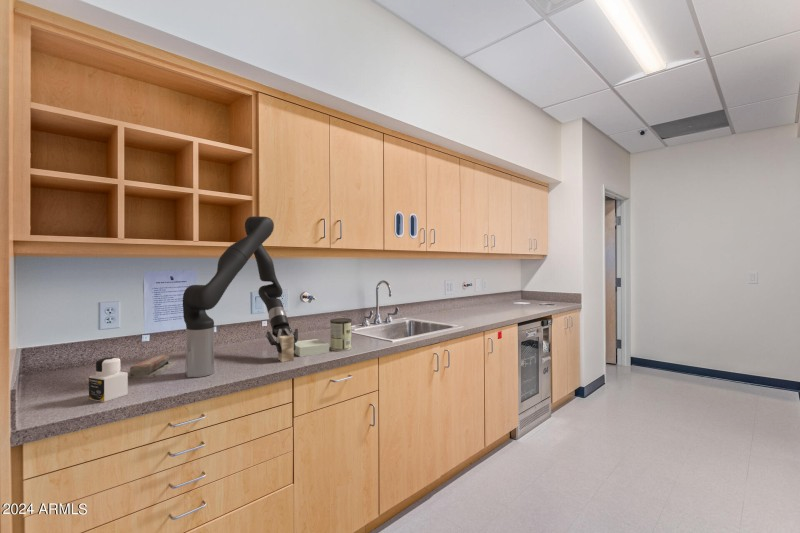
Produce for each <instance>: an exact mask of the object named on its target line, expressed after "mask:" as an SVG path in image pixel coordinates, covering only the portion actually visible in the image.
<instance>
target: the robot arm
mask: <svg viewBox="0 0 800 533" xmlns="http://www.w3.org/2000/svg"><path fill="white" fill-rule="evenodd" d="M274 224H275V223H274V220H273V219H271V218H270V217H268V216H249V217H247V218H246V219H245V221H244V230H245V234H246V236H245V237H243V238H241V239H239V240H238V241H236V242H234V243H233V244H230V245H229V246H228V248H226V250H225V251H224V252H223V253H222V254H221V255H220V257H219V258H218V262H217V270H216V273H215V274H214V276H213V277H212V278H211V279H210V281H208V283H206V284H192V285H189V286H187V287H186V288H185V289H184V292H183V294H182V295H183V296H182V311H183V312H182V313H183V321H184V323H185V327H186V328H185V330H186V333H185V334H186V336H185V337H186V339H185V341H186V343H185V344H186V347H185V353H184V354H185V375H186V377H187V378H201V377H208V376H210V375H212V374H214V373H215V321H214V319H213V318H212V317H210V316H209V315H208V313H207V312H206V311H210V310H212V309H214V308H215V307H216V306H217V305H218V303H219V302H220V300H221V299H222V297H223V296H224V294H225V292H226V290H227V289H228V287H229V286H230V284H231V283H232V281H233V280H234V279H235V277H236V276H237V275H238V274H239V273H240V271H241V270H242V269H243V267H244V266H246V264H247V263H248V261H249V260H250V258H251V257H252V256H253V255H254V258H255V261H256V265H257V271H258V276H259V280H260V281H262V282H266V283H267V282H268V283H271V284H266V285H262V286H260V287H259V288H258V292H257V293H258V296H259V298H260V299H261V301H262V302H263V303H264V305H265V307H266V310H267V314H268V320H269V325H270V328H271V331H269V330H268V331H267V332H266V335H265V336H266V339H267V340H268V342H269V344H270V345H271V346H275V348H276V351H277V353H278V352H279V353H281V352H282V348H281V344H280V343H279V342H280V340H279V337H281V336H287V335H288V336H293V337H294V351H295V349H296V345H295V343H296V342H297V341H299V328H295V329H292V328H291V326H290V323H289V320H288V316H287V313H286V310H285V309H284V305H283V302H282V300H281V298H280V297H282V296H283V288H282V286H281V285H280V283H279V281H278V278H277V276H276V271H275V265H274V262H273V259H272V257H271V256H270V254H269V253H268V251H267V250H266V248H265V247H264V245H263V243H265V241H267V239H268V238H269V237H270V236H271V235H272V234H273V232H274V228H275V225H274ZM291 333H292V334H291ZM273 336H274V337H275V338H276V339H274V337H273Z"/></svg>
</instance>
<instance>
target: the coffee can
mask: <svg viewBox="0 0 800 533" xmlns="http://www.w3.org/2000/svg"><path fill="white" fill-rule="evenodd" d="M352 321H353V320H352V318H345V317H342V318H341V317H340V318H331V319H330V320H329V322H330V324H329V325H330V335H329V336H330V347H329V350H331V351H333V350H334V351H335V352H345V351H350V350H351V349H352V348H353V346H352ZM334 351H333V352H334Z"/></svg>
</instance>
